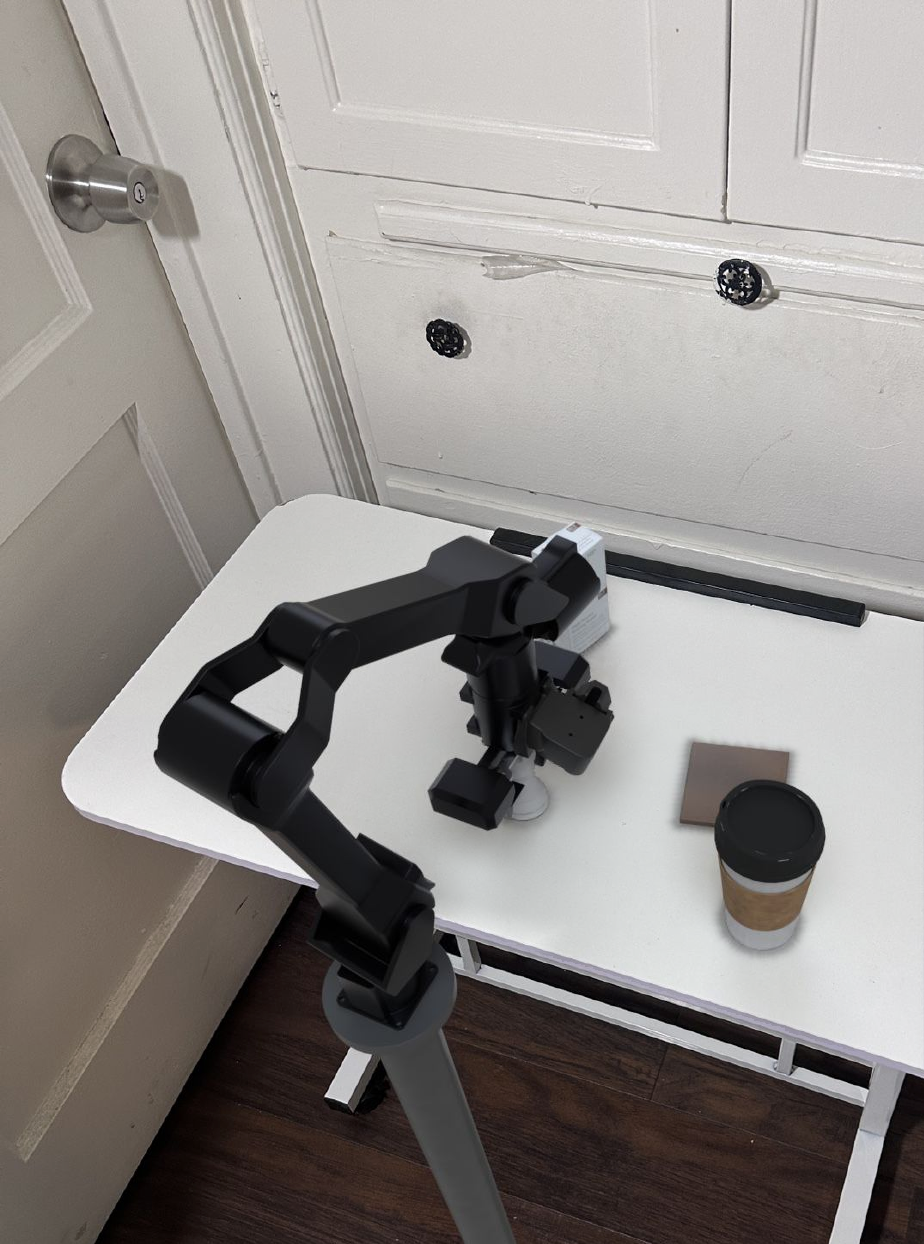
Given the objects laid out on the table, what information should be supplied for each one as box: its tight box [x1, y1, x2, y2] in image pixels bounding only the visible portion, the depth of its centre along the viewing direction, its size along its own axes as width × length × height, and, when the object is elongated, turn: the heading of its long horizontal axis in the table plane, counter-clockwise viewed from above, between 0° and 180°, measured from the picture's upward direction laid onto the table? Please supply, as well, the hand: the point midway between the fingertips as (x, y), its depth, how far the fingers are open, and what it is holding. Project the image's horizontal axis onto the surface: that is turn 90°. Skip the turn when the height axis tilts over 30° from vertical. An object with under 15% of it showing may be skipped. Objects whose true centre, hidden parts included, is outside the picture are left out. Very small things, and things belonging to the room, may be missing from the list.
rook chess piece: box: [510, 750, 550, 821], centre depth 109 cm, size 4×4×8 cm
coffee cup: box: [713, 779, 827, 951], centre depth 97 cm, size 8×8×15 cm
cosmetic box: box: [530, 520, 611, 654], centre depth 120 cm, size 6×4×12 cm
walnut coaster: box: [679, 741, 790, 828], centre depth 112 cm, size 9×9×1 cm
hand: (522, 790), depth 110 cm, fingers open, 6 cm apart
